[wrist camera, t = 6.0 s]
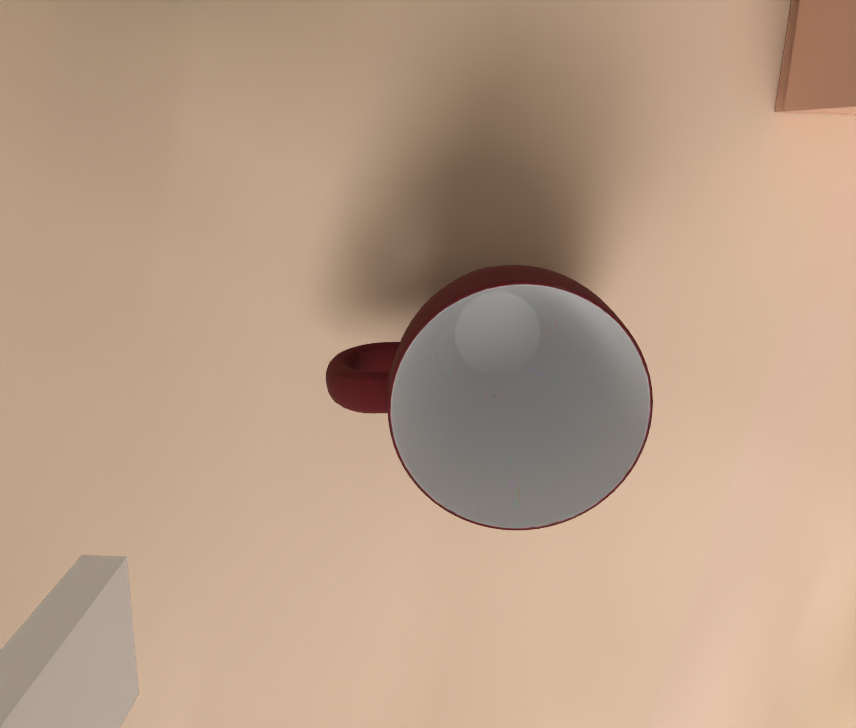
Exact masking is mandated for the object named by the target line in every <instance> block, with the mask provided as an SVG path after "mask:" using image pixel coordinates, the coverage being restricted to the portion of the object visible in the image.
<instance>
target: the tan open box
mask: <svg viewBox="0 0 856 728" xmlns="http://www.w3.org/2000/svg"><path fill="white" fill-rule="evenodd" d="M775 112H787V113H817V114H848V115H856V0H791V7H790V14H789V20H788V27H787V34H786V40H785V47H784V54H783V60H782V67H781V74H780V80H779V87H778V94H777V100H776V107H775Z"/></svg>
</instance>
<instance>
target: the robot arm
mask: <svg viewBox="0 0 856 728" xmlns="http://www.w3.org/2000/svg"><path fill="white" fill-rule="evenodd" d="M138 694H139V690H138V679H137V667H136V656H135V644H134V633H133V621H132V610H131V598H130V587H129V575H128V564H127V557H116V556H89V555H82V556H81V557H80V558H79V559H78V560H77V562H76V563H75V564H74V565H73V566H72V567H71V569H70V570H69V571H68V572H67V573H66V574H65V576H64V577H63V578H62V579H61V580H60V581H59V583H58V584H57V585H56V586H55V587H54V588H53V590H52V591H51V592H50V593H49V594H48V595H47V597H46V598H45V599H44V600H43V601H42V603H41V604H40V605H39V606H38V607H37V608H36V610H35V611H34V612H33V613H32V614H31V615H30V617H29V618H28V619H27V620H26V621H25V622H24V624H23V625H22V626H21V627H20V628H19V629H18V631H17V632H16V633H15V634H14V635H13V636H12V638H11V639H10V640H9V641H8V642H7V643H6V645H5V646H4V647H3V648H2V649H1V650H0V728H120V727H121V725H122V723H123V722H124V720H125V718H126V716H127V714H128V712H129V710H130V709H131V707H132V705H133V703H134V701H135V699H136V698H137V696H138Z"/></svg>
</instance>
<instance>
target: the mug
mask: <svg viewBox="0 0 856 728" xmlns="http://www.w3.org/2000/svg"><path fill="white" fill-rule="evenodd" d="M326 384H327V388H328V392H329V394H330V396H331V397H332V399H333V400H334V401H335V402H336V403H338V404H339V405H341V406H342V407H344V408H346V409H349V410H352V411H356V412H362V413H388V421H389V427H390V433H391V437H392V441H393V444H394V447H395V450H396V452H397V455H398V457H399V459H400V461H401V463H402V465H403V467H404V469H405V470H406V472H407V473H408V475H409V476H410V478H411V479H412V480H413V482H414V483H415V484H416V485H417V487H418V488H419V489H420V490H421V491H422V492H423V493H424V494H425V495H426V496H427V497H428V498H430V499H431V500H432V501H433V502H434V503H436V504H437V505H439V506H440V507H441V508H443V509H444V510H446V511H448V512H449V513H451V514H453V515H455V516H457V517H459V518H461V519H463V520H466V521H468V522H471V523H474V524H477V525H481V526H485V527H489V528H495V529H502V530H531V529H539V528H544V527H549V526H553V525H556V524H560V523H563V522H566V521H568V520H571V519H573V518H575V517H577V516H579V515H581V514H583V513H585V512H587V511H589V510H590V509H592V508H594V507H595V506H597V505H598V504H599V503H601V502H602V501H603V500H605V499H606V498H607V497H608V496H609V495H610V494H612V493H613V492H614V491H615V490H616V489H617V488H618V487H619V485H620V484H621V483H622V482H623V481H624V480H625V479H626V477H627V476H628V475H629V473H630V472H631V471H632V469H633V467H634V466H635V464H636V462H637V461H638V459H639V457H640V455H641V453H642V450H643V448H644V445H645V443H646V440H647V437H648V433H649V429H650V425H651V418H652V406H653V398H652V386H651V380H650V375H649V372H648V368H647V365H646V362H645V360H644V357H643V355H642V352H641V350H640V348H639V346H638V345H637V343H636V341H635V339H634V338H633V336H632V335H631V333H630V332H629V330H628V329H627V328H626V327H625V325H624V324H623V323H622V322H621V320H620V319H619V318H618V317H617V316H616V314H615V313H614V312H613V311H612V310H611V309H610V308H609V307H608V306H607V305H606V304H605V303H604V302H603V301H602V300H601V299H600V298H599V297H598V296H596V295H595V294H594V293H593V292H591V291H590V290H589V289H587V288H586V287H584V286H583V285H581V284H579V283H578V282H576V281H574V280H572V279H570V278H568V277H566V276H564V275H561V274H558V273H556V272H553V271H550V270H546V269H542V268H537V267H531V266H520V265H506V266H495V267H488V268H484V269H480V270H477V271H474V272H471V273H469V274H467V275H464V276H462V277H461V278H459V279H457V280H455V281H453V282H452V283H450V284H448V285H447V286H445V287H444V288H443V289H441V290H440V291H439V292H437V293H436V294H435V295H434V296H433V297H432V298H430V299H429V300H428V301H427V303H426V304H425V305H424V306H423V307H422V308H421V309H420V310H419V312H418V313H417V314H416V316H415V317H414V318H413V320H412V321H411V323H410V324H409V326H408V328H407V329H406V331H405V333H404V335H403V337H402V339H401V342H382V343H372V344H366V345H361V346H357V347H353V348H350V349H347V350H345V351H343V352H341V353H339V354H338V355H336V356H335V357H334V358H333V359H332V360H331V362H330V363H329V365H328V368H327V371H326Z"/></svg>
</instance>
